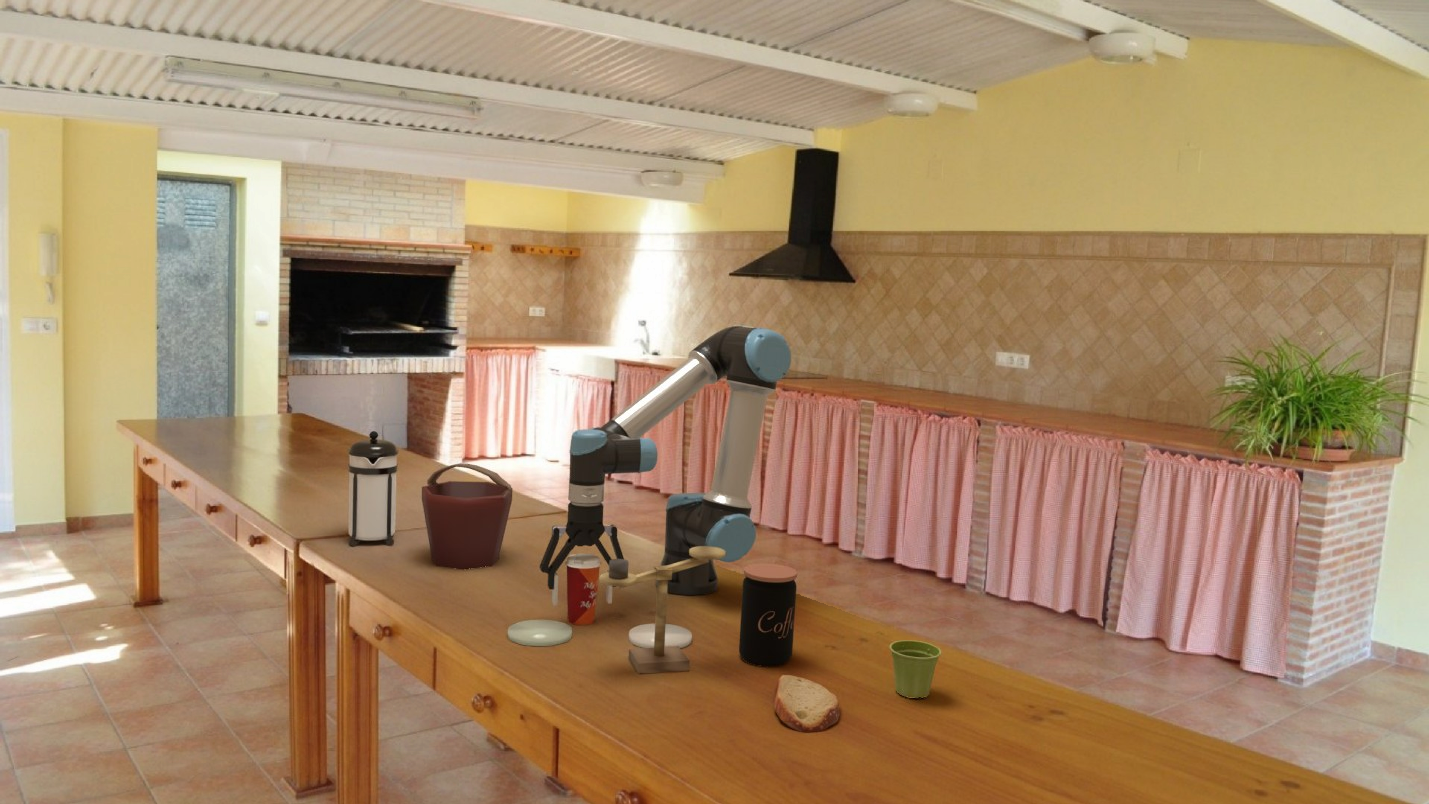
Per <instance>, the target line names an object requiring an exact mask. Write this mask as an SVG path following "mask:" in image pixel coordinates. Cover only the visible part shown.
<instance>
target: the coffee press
mask: <svg viewBox="0 0 1429 804" xmlns="http://www.w3.org/2000/svg"><path fill="white" fill-rule="evenodd" d="M368 436H369V439H362V440H361V439H360V440H358V441H357V440H356V441H355V442H354V443H352V444H351V445H350V448H349V449H348V451H347V454H348V457H349V459H348V460H349V463H348V468H347V469H348V472H349V473H348V474H349V475H348V477H349V479H348V528H347V529H348V535H349V536H350V538H349V541H348V545H349V546H351V547H356V546H357V544H358V543H359V542H361V541H383V542H384V543H385V544H386V546H392V545H394V544H395V540H394V538H393V537H394V535H395V533H396V509H397V508H396V507H397V472H398V463H397V462H398V461H397V460H398V459H397V458H398V455H399V449H397V448H398V447H397V446H396V444H395V443H393V442H392V441H389V440H386V439H385V440H384V439H378V437H379V433H378V432H377V431H373V430H372V431H370V433H369V434H368Z"/></svg>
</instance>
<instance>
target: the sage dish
mask: <svg viewBox="0 0 1429 804" xmlns="http://www.w3.org/2000/svg"><path fill="white" fill-rule="evenodd" d="M572 634H573V629H572V627H571V626H570V625H569V624H567V623H564V622H561V621H559V620H553V619H552V620H551V619H529V620H527V619H526V620H523V621H519V622H516V623H513V624H511V625H510V626H509V627H508V629H507V638H508V639H509V641H511V642H513V643H516V644H519V645H522V646H528V647H550V646H552V647H553V646H557V644H558V645H561V644H564V643H566V642H568V641H570V640H571V638H572Z"/></svg>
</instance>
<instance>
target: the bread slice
mask: <svg viewBox="0 0 1429 804" xmlns="http://www.w3.org/2000/svg"><path fill="white" fill-rule="evenodd" d="M773 699H774V700H773V710H774V712H775V713H776V714H777V716H778V718H779V719H780V721H782V722H783V724H784V725H786V726H787V727H789V728H790V729H792V730H795V731H798V732H799V731H800V733H804V734H811V733H820V732H821V733H822V732H824V731H826V730H827V728H829V727H831V726H833V725H836V723H837V722H838V721H839V720H840V715H841V714H840V703H839V699H838V697H837V696H836V694H835V693H833V692H830V691H829V690H828V689H827V687H824V686H823V685H821V684H820V683H818V682H814V681H813V680H810V679H807V678H805V677H800V676H795V675H791V674H787V675H786V674H782V675H781V676H780V677H779V679H778V680H777V683H776V687H775V690H774V698H773Z"/></svg>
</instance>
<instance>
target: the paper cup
mask: <svg viewBox="0 0 1429 804" xmlns="http://www.w3.org/2000/svg"><path fill="white" fill-rule="evenodd" d="M600 560H601V559H600V557H599V556H597V555H595V554H589V553H575V554H570V555H568V556H567V557H566V561H565V562H564V564H565V566H566V594H567V595H566V597H567V598H566V599H567V600H566V601H567V602H566V603H567V621H568V623H569V624H572V625H576V626H588V625H591V624H593V623H594V621H595V616H596V609H597V608H596V607H597V597H598V589H599V588H598V587H599V579H600V575H599V574H600V568H601V565H602V562H601V561H600Z"/></svg>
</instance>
